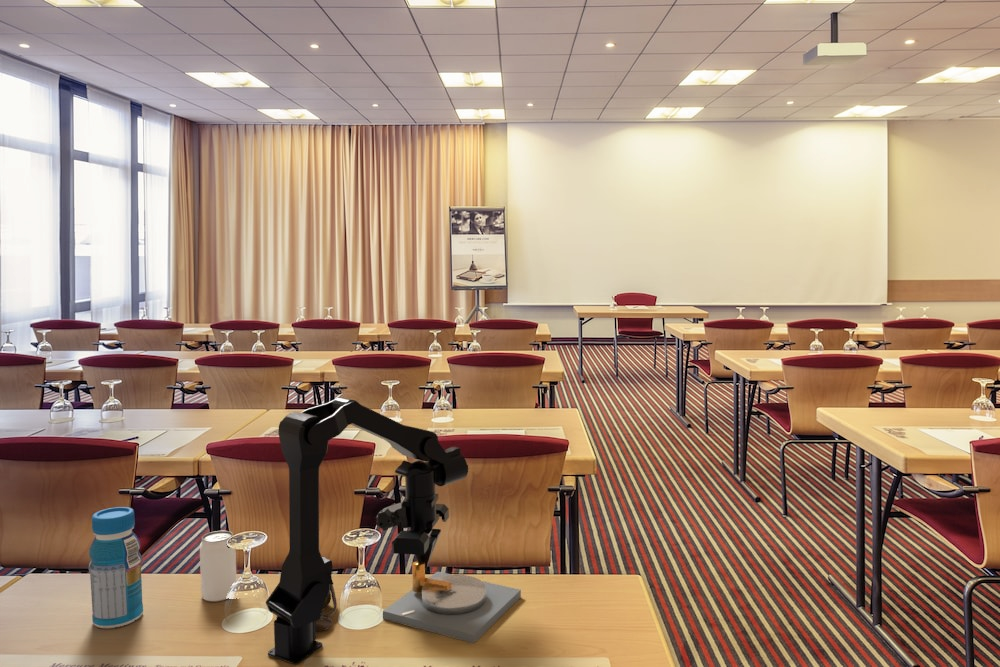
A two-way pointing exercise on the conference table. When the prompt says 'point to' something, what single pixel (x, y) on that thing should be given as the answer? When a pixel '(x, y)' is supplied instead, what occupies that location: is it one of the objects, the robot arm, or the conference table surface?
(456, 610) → the dial
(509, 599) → the dial plate
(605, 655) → the conference table surface
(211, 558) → the can
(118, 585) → the beverage bottle
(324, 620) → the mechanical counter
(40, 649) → the conference table surface
